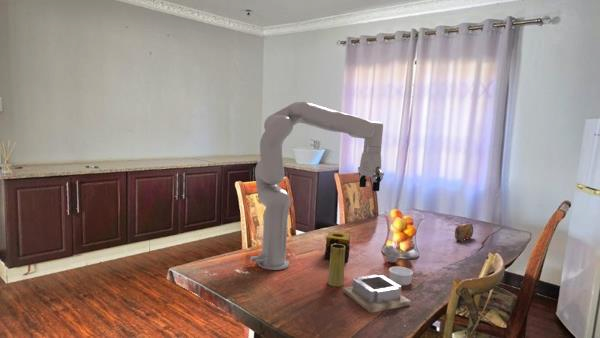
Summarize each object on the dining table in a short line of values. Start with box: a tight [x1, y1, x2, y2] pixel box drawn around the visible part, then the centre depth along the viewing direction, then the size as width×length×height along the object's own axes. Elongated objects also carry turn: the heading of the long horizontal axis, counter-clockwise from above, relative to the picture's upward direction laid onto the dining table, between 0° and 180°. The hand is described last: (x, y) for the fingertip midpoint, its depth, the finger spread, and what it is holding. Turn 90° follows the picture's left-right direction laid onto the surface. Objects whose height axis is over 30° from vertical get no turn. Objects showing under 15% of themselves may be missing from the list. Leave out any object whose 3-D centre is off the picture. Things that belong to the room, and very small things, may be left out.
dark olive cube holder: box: [323, 231, 351, 263], centre depth 171 cm, size 10×10×10 cm
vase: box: [327, 244, 345, 288], centre depth 143 cm, size 6×6×14 cm
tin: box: [454, 222, 474, 242], centre depth 210 cm, size 15×3×8 cm, turn 129°
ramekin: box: [388, 266, 414, 286], centre depth 149 cm, size 9×9×4 cm
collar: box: [352, 274, 402, 304], centre depth 133 cm, size 12×12×4 cm
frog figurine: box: [383, 245, 400, 263], centre depth 169 cm, size 6×7×7 cm
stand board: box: [342, 285, 411, 314], centre depth 134 cm, size 16×16×2 cm
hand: (368, 189), depth 172 cm, fingers open, 9 cm apart
